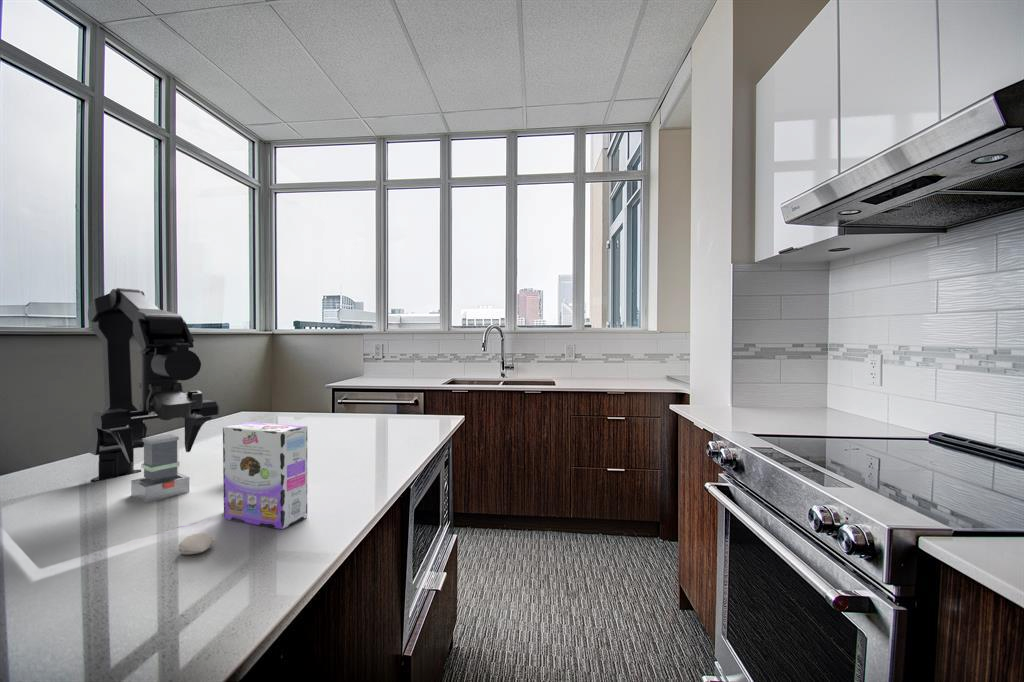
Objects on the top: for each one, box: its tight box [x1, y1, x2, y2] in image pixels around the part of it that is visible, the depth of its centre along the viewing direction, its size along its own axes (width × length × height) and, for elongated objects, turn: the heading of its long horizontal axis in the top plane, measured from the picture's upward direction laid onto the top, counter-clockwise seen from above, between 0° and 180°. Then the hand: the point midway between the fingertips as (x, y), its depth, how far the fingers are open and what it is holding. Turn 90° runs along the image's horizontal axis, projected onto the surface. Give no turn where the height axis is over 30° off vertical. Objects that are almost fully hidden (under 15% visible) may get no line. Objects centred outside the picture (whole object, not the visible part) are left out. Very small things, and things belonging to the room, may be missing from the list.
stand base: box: [130, 471, 190, 504], centre depth 85 cm, size 12×12×4 cm
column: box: [140, 433, 181, 481], centre depth 85 cm, size 5×5×8 cm
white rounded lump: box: [177, 532, 215, 556], centre depth 64 cm, size 4×5×2 cm
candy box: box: [222, 421, 308, 530], centre depth 77 cm, size 14×6×16 cm, turn 71°
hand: (160, 457), depth 85 cm, fingers open, 9 cm apart
